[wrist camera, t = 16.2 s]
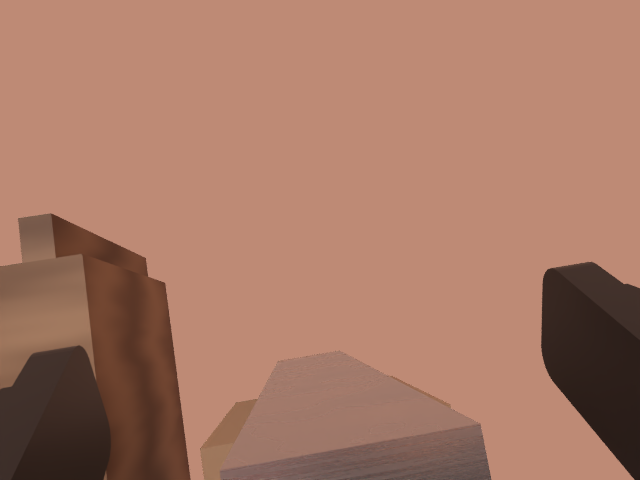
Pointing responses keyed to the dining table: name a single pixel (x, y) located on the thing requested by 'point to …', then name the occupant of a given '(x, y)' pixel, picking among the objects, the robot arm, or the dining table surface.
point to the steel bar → (351, 428)
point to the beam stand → (99, 337)
